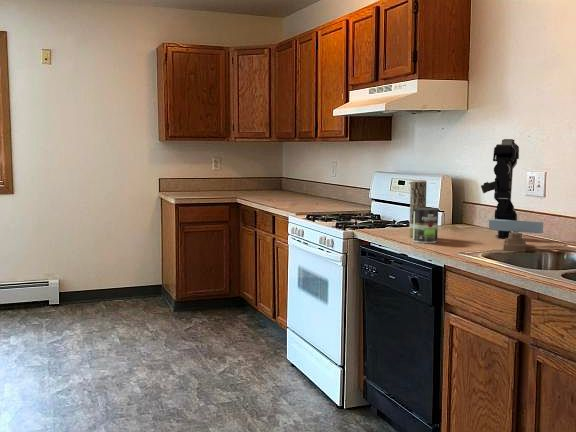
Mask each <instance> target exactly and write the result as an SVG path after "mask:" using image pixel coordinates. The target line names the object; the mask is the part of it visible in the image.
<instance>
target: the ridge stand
mask: <svg viewBox="0 0 576 432" xmlns="http://www.w3.org/2000/svg"><path fill="white" fill-rule="evenodd" d="M503 241H504V242H503V251H508V250H509V251H511V252H526V249H527V245H526V244H527V242H526V239H524V238H523V232H513V231H512V233H509V236H508V238H504V240H503Z"/></svg>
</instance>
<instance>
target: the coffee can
mask: <svg viewBox="0 0 576 432" xmlns="http://www.w3.org/2000/svg"><path fill="white" fill-rule="evenodd" d="M413 210H414V223H413V237H412V242H414V243H418V244H436V242H437V243H438V233H439V230H438V229H439V225H438V224H439V208H438V207H427V206H426V207H417V208H414V209H413Z"/></svg>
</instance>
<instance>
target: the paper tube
mask: <svg viewBox="0 0 576 432" xmlns="http://www.w3.org/2000/svg"><path fill="white" fill-rule="evenodd" d="M409 189H410V195H409V196H410V197H409V198H410V199H409V237H410V238H413V223H414V210H413V209H414V208H417V207H427V180H425V179H424V180H423V179H411V180H410V188H409Z"/></svg>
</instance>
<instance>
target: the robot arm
mask: <svg viewBox="0 0 576 432" xmlns="http://www.w3.org/2000/svg"><path fill="white" fill-rule="evenodd" d="M492 156H493V157H492V162H496V164H495V166H494V167H493V173H494V174H495V178H494V180H493V181H490V182H489V181H486V182H483V184H482V185H480V188H481V190H482V194H486V193H487V192H491V191H494V194H493V199H494V200H495V201H496V202H497V205H496V209H495V210H494V219H499V220H515V221H518V214H517V212H516V210H515V205H514V204H513V202H512V189H513V173H514V168H515V167H516V166H517V164H518V160H519V159H520V146H519V145H518V144H517V143H516V142H515V139H512V138H503V139H501V143H498V144H496V145H495V146H494V147H493V155H492ZM509 233H513V231H500V230H497V234H495V237H496V238H498V239H505V238H508V236H509Z"/></svg>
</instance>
